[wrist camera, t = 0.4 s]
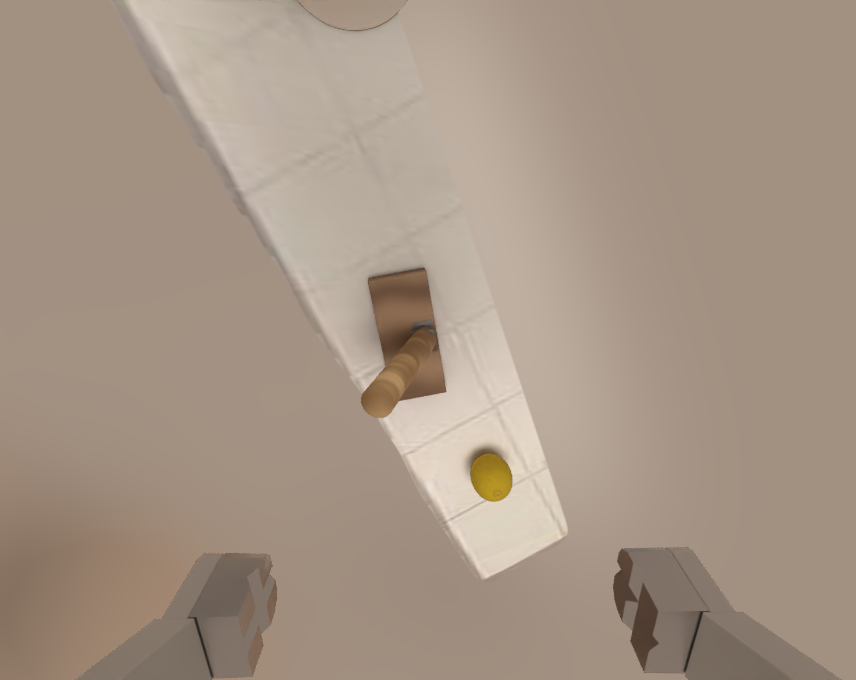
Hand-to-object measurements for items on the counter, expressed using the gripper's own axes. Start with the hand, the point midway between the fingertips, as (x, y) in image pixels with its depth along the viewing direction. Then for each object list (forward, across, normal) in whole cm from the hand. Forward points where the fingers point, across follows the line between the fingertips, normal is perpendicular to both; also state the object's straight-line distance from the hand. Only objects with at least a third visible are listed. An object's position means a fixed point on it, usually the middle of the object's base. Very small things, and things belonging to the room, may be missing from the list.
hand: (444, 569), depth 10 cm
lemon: (+46, -7, +31) cm, 56 cm away
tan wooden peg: (+43, +1, +11) cm, 44 cm away
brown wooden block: (+46, +3, +11) cm, 48 cm away
